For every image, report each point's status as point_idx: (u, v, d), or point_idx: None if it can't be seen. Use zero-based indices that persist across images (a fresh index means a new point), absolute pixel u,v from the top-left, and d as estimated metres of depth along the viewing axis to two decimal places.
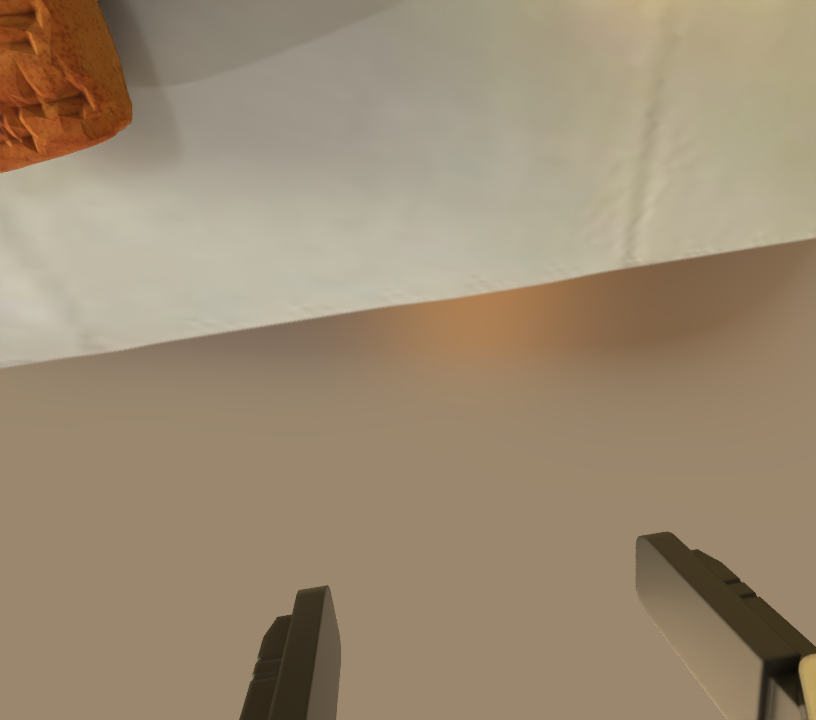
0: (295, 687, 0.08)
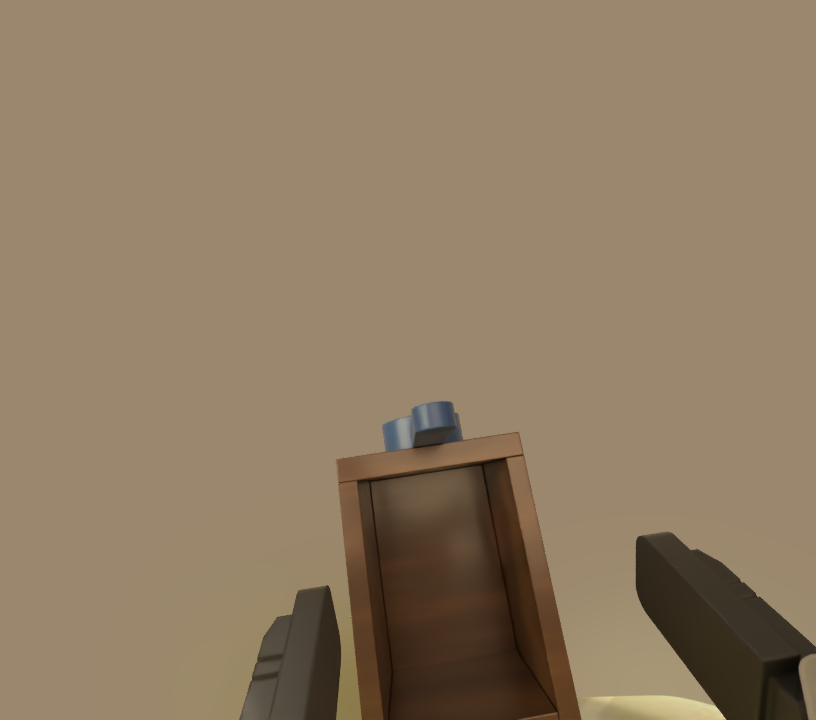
0: (295, 687, 0.08)
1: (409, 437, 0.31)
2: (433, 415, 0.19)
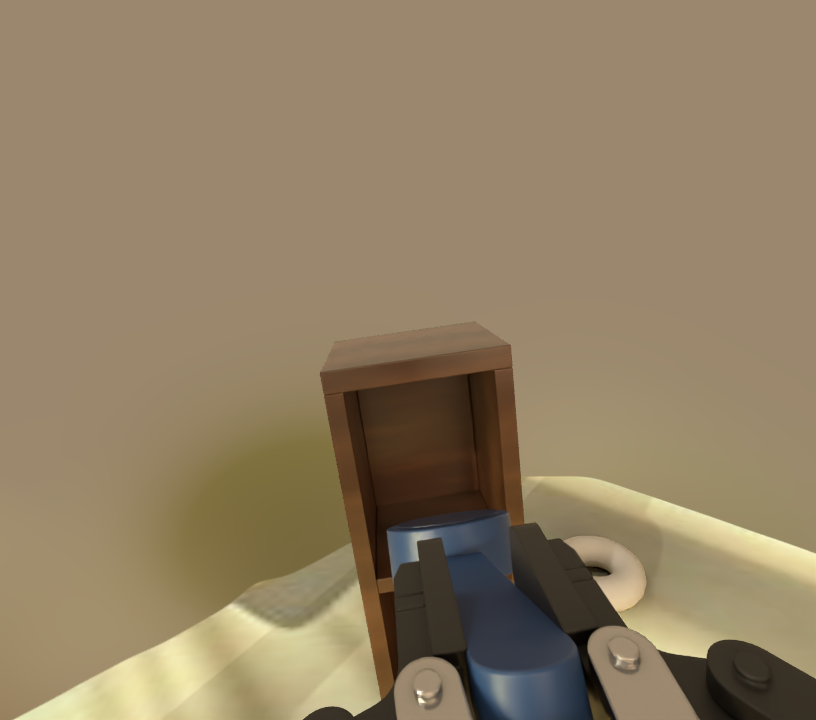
0: (444, 612, 0.09)
1: None
2: (539, 714, 0.07)
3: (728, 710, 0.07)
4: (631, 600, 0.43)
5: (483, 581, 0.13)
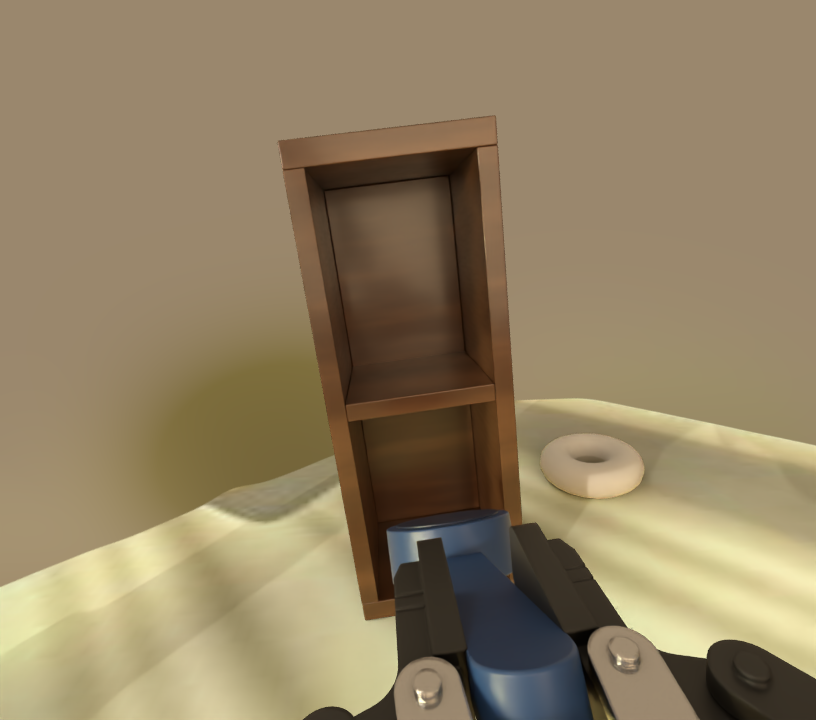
0: (444, 612, 0.09)
1: None
2: (539, 714, 0.07)
3: (728, 710, 0.07)
4: (627, 483, 0.40)
5: (483, 581, 0.13)
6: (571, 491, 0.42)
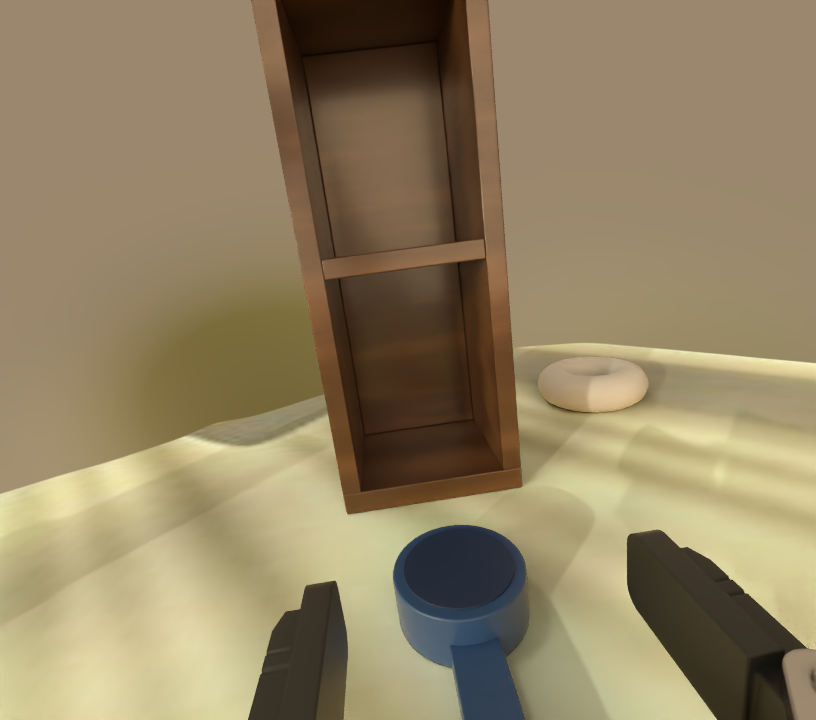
0: (305, 679, 0.08)
1: (448, 650, 0.17)
2: None
3: None
4: (630, 393, 0.38)
5: None
6: (570, 405, 0.39)
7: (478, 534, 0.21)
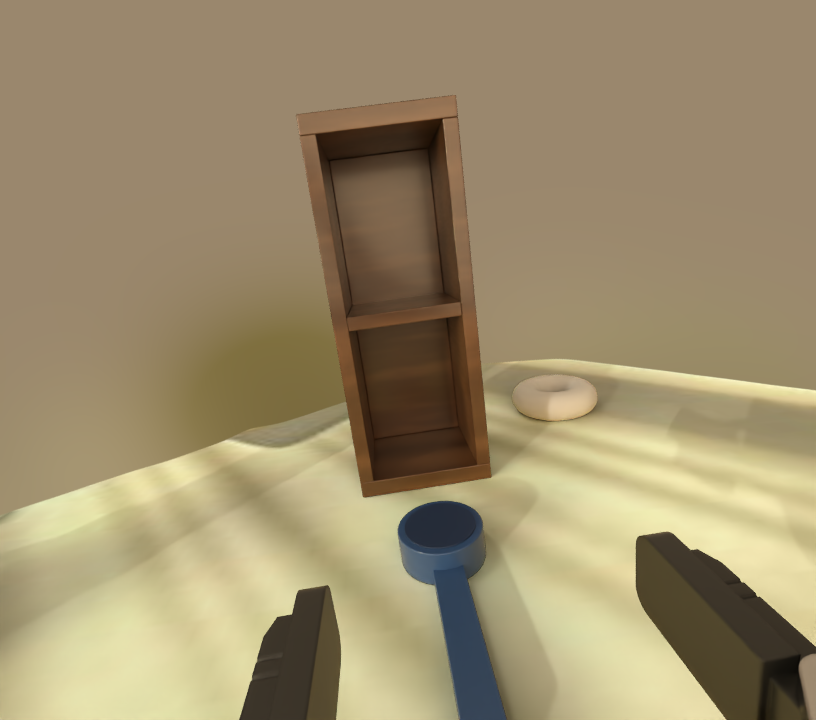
0: (295, 687, 0.08)
1: (432, 573, 0.28)
2: None
3: None
4: (581, 406, 0.49)
5: (467, 633, 0.23)
6: (535, 415, 0.50)
7: (454, 506, 0.32)
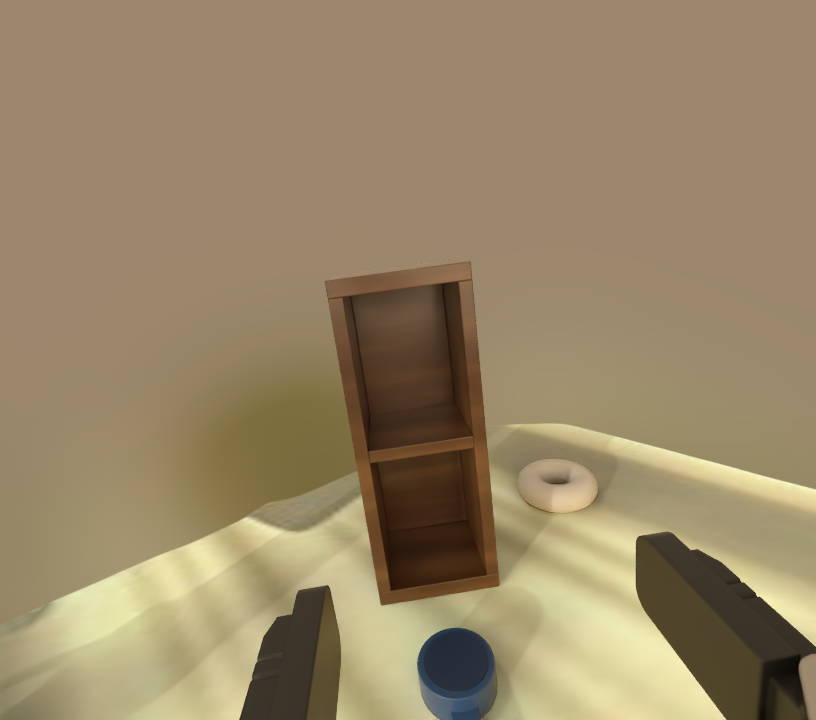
0: (295, 687, 0.08)
1: (449, 714, 0.31)
2: None
3: None
4: (582, 501, 0.52)
5: None
6: (539, 507, 0.53)
7: (468, 636, 0.35)
